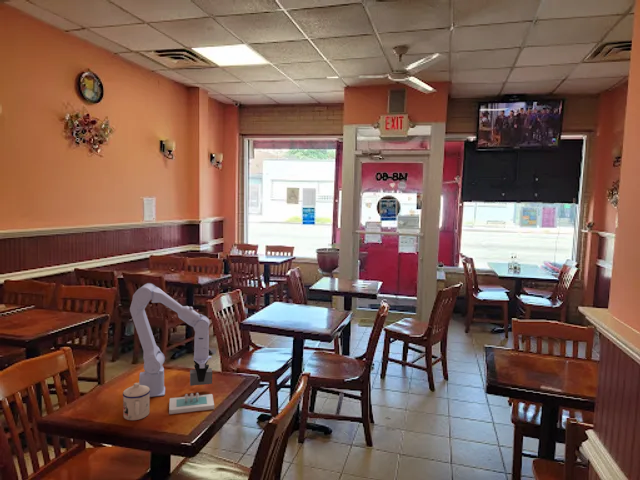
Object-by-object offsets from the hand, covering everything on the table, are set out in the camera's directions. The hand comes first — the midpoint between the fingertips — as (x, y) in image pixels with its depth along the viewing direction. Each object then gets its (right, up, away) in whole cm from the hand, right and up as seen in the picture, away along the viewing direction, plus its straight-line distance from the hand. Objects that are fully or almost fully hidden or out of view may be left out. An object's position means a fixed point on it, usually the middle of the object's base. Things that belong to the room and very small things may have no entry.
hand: (200, 379), depth 174 cm
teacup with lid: (-17, -7, -22) cm, 28 cm away
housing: (0, -2, 0) cm, 2 cm away
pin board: (0, -6, -12) cm, 14 cm away
